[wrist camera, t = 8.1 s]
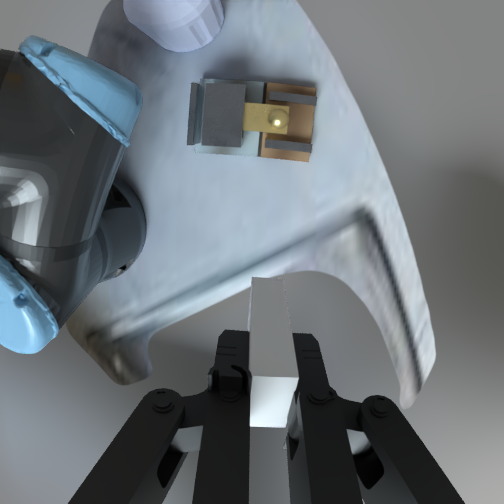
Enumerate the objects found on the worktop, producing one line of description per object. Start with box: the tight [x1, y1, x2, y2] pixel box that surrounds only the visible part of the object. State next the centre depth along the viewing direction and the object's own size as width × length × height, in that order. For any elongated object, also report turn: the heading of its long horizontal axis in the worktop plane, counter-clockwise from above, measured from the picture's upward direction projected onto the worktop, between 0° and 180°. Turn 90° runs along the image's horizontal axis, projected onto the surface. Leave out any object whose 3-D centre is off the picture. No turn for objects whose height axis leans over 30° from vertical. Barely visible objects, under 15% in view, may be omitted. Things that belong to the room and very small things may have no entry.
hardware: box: [187, 83, 317, 153], centre depth 31 cm, size 13×7×5 cm, turn 85°
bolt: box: [242, 103, 289, 134], centre depth 30 cm, size 7×3×5 cm, turn 85°
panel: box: [195, 79, 316, 162], centre depth 34 cm, size 13×9×1 cm
